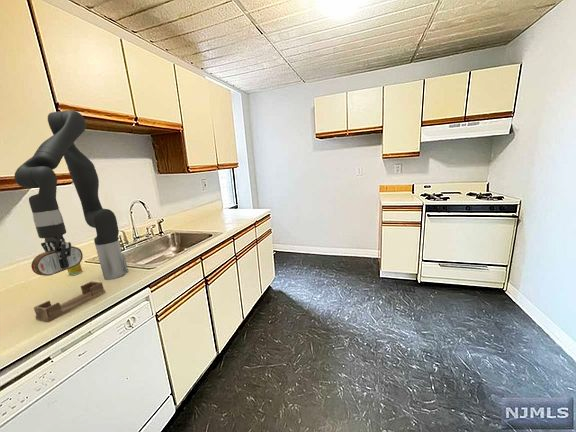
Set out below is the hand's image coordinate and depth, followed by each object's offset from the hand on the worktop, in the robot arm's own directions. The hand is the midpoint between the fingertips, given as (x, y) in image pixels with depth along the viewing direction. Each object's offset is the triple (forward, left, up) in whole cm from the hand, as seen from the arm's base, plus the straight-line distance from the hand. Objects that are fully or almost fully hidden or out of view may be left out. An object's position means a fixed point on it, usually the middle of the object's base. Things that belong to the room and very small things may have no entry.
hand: (62, 267), depth 94 cm
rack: (0, 0, -16) cm, 16 cm away
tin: (0, 0, -1) cm, 1 cm away
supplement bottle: (-22, -35, -16) cm, 45 cm away
